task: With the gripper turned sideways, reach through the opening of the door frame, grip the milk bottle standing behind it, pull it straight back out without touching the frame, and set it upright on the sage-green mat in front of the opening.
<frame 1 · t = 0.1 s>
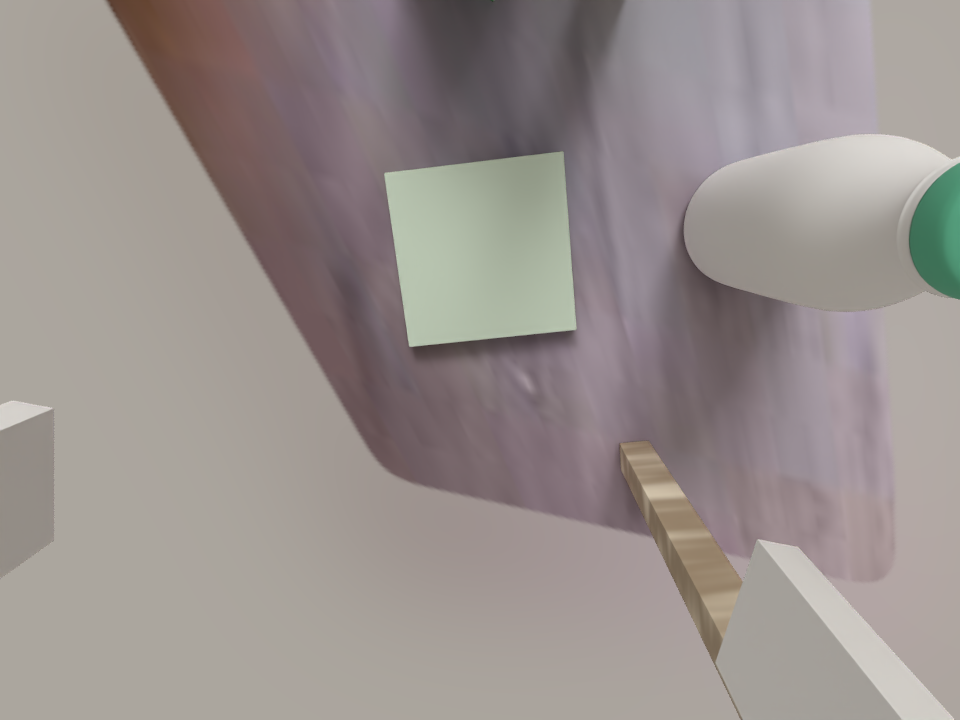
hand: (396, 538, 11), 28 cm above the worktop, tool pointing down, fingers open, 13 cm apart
door frame: (623, 237, 36), on the worktop
sage mat: (483, 252, 37), on the worktop
milk bottle: (740, 224, 36), on the worktop
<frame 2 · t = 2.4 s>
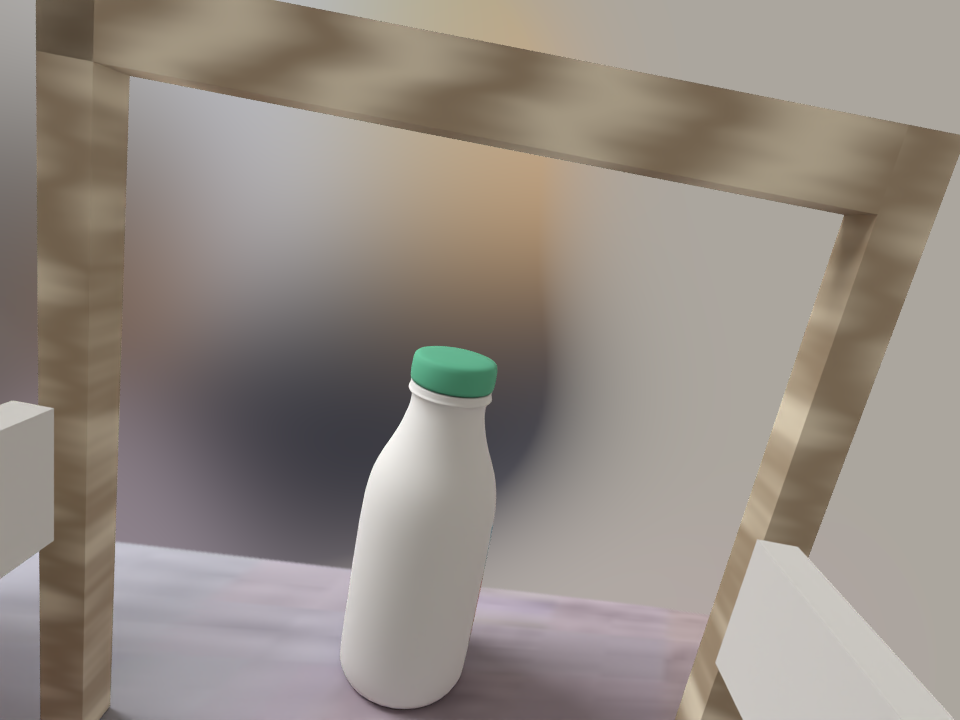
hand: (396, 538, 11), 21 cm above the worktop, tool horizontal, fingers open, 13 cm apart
milk bottle: (400, 663, 35), on the worktop
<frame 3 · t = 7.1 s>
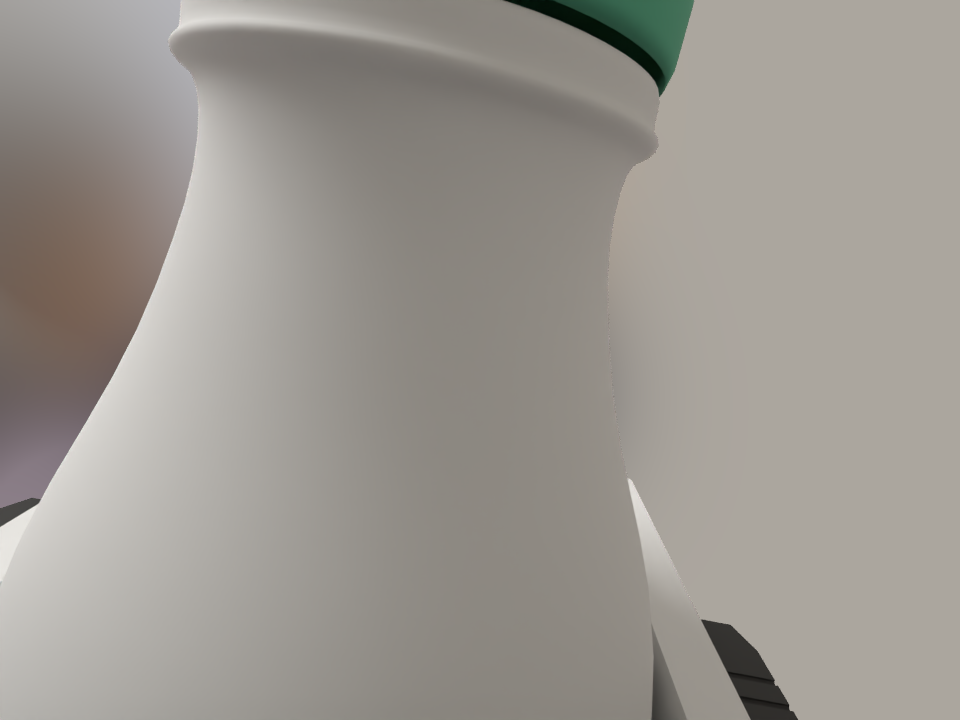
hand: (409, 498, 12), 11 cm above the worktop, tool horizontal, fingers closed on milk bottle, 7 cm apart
when the fingers open (13 cm above the worktop, at t = 12.2 s): milk bottle stays where it is, resting on sage mat.
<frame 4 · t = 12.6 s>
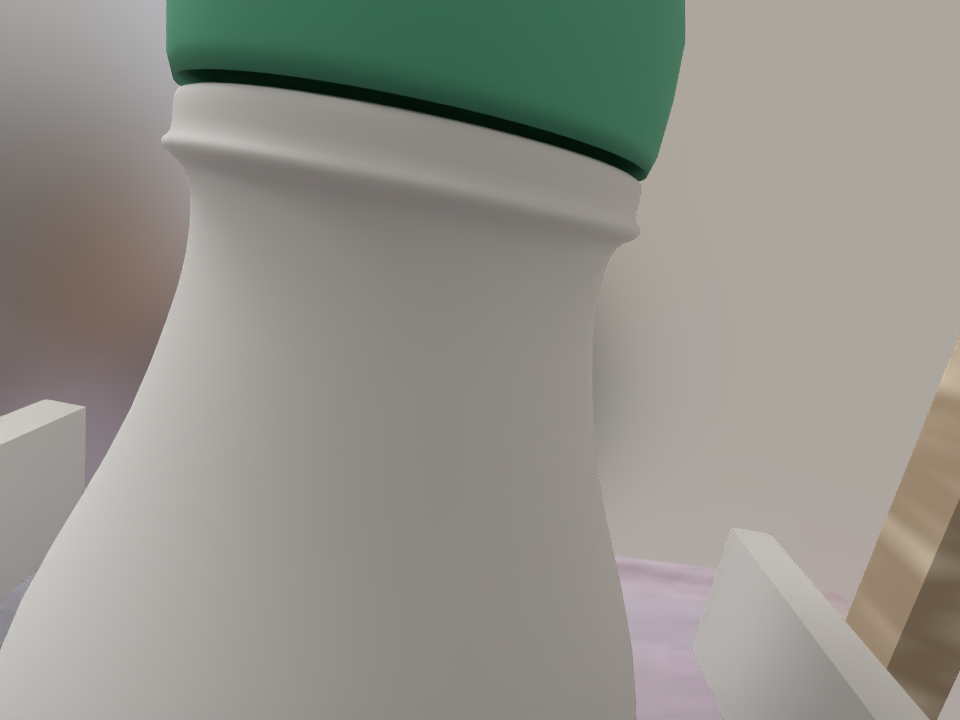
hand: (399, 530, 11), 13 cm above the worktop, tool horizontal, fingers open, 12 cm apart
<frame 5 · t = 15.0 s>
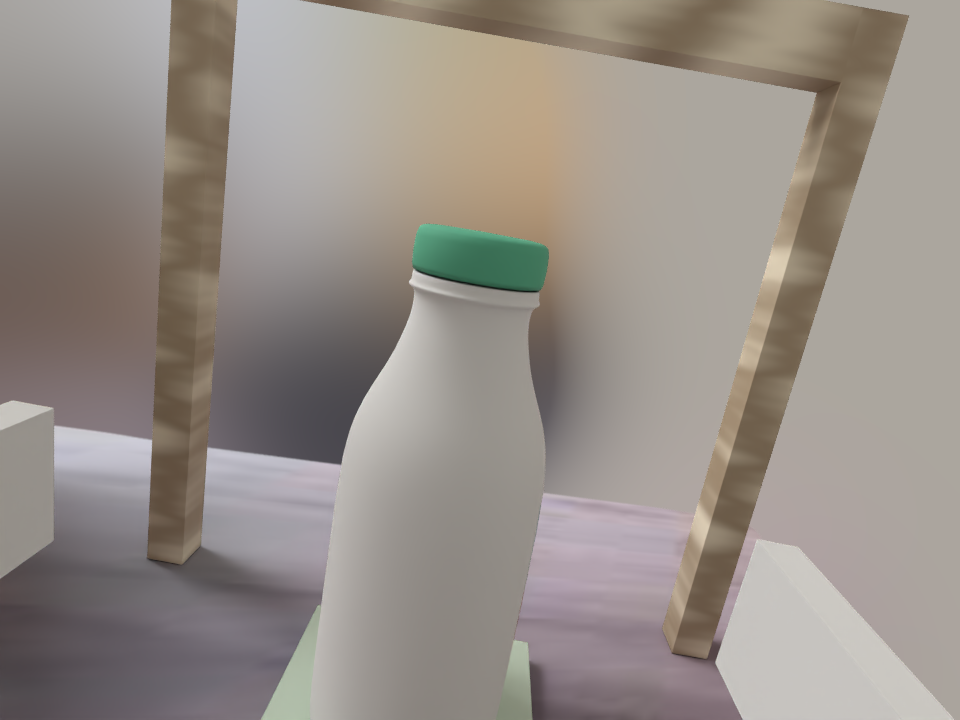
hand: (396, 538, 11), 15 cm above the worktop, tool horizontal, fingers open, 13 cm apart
door frame: (429, 597, 33), on the worktop
milk bottle: (401, 716, 24), point 1 cm above the worktop, touching sage mat
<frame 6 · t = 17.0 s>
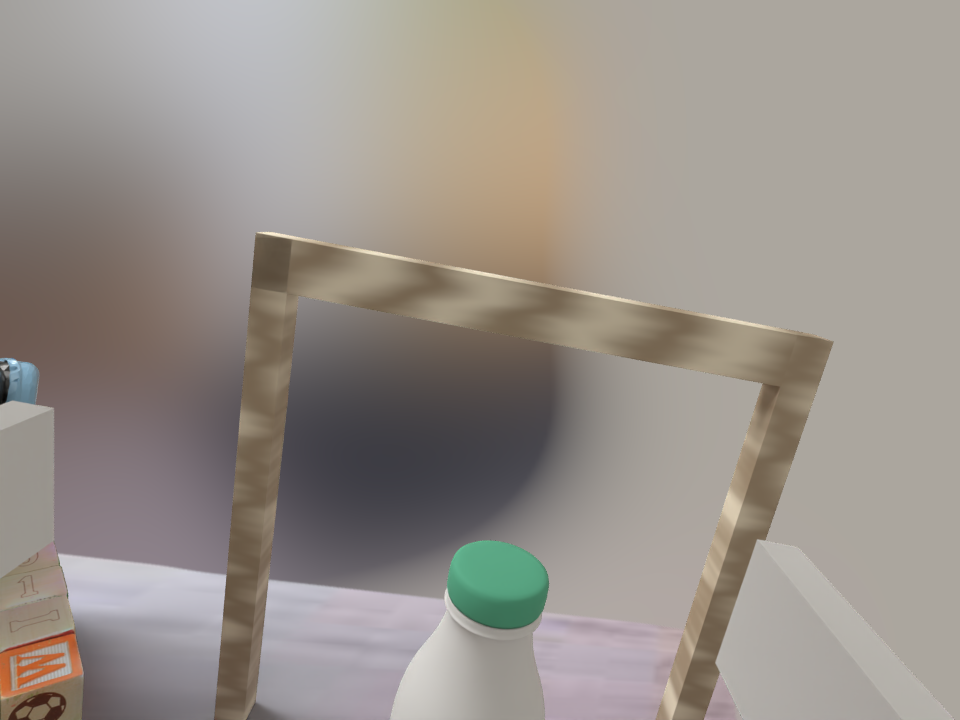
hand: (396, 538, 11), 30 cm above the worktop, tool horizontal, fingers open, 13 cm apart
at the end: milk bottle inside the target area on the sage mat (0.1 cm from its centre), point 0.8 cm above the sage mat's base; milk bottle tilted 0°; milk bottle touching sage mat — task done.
